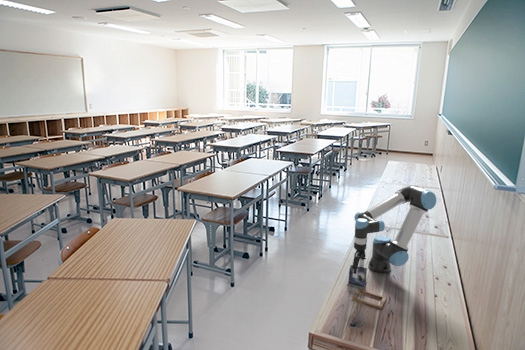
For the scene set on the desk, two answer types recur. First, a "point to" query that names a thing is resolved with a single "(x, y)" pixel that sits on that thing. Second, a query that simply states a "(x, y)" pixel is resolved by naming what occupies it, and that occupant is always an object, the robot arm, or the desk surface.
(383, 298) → the wooden frame
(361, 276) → the small box
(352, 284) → the mat
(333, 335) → the desk surface
